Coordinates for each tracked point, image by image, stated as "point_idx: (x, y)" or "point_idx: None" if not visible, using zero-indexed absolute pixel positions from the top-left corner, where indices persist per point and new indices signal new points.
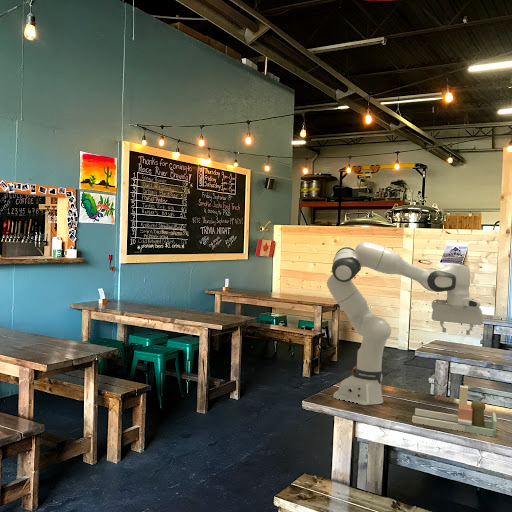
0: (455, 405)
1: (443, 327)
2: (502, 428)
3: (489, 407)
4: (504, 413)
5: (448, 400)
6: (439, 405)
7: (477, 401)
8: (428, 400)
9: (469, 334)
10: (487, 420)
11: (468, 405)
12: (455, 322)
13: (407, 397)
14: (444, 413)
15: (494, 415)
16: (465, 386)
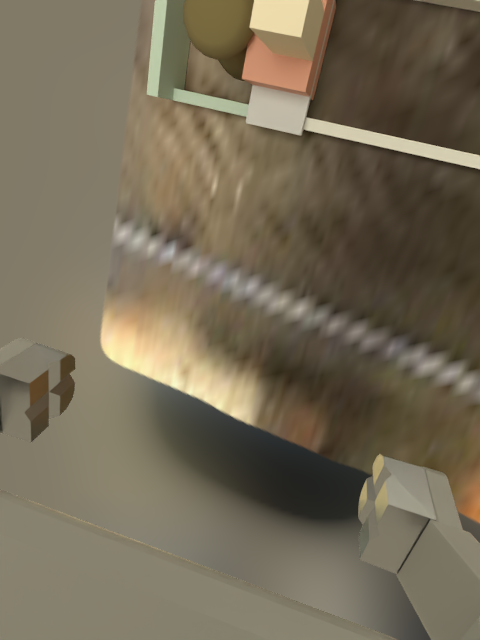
0: (266, 349)
1: (447, 533)
2: (145, 105)
3: (151, 356)
4: (113, 302)
5: (279, 402)
6: (331, 334)
7: (218, 8)
8: (361, 387)
9: (25, 341)
10: (190, 100)
11: (261, 77)
12: (160, 551)
13: (445, 407)
14: (365, 136)
15: (157, 41)
16: (269, 15)
